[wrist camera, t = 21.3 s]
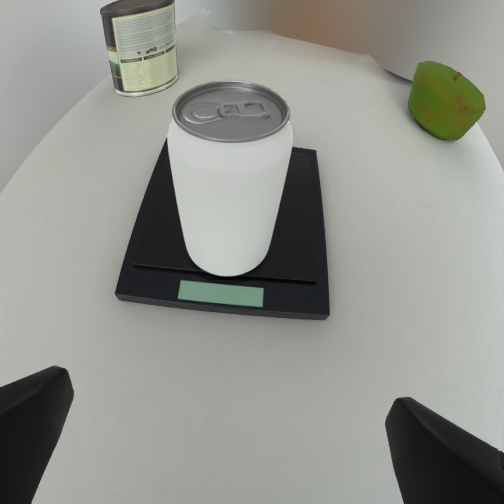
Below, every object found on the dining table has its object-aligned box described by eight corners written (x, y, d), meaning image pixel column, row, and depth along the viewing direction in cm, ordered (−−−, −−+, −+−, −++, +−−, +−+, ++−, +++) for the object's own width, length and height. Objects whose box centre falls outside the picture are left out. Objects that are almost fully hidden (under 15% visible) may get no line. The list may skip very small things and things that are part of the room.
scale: (325, 320, 22) (331, 313, 21) (119, 300, 22) (112, 292, 20) (313, 157, 32) (317, 147, 30) (167, 145, 31) (166, 134, 30)
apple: (405, 96, 44) (425, 45, 34) (462, 130, 41) (488, 83, 31) (392, 121, 38) (419, 59, 28) (461, 164, 35) (496, 107, 26)
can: (183, 212, 25) (165, 81, 14) (260, 204, 26) (280, 75, 15) (189, 284, 21) (160, 155, 11) (277, 273, 22) (318, 144, 12)
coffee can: (101, 93, 37) (84, 13, 25) (142, 65, 42) (134, -6, 30) (151, 101, 36) (140, 8, 24) (191, 71, 41) (190, -9, 29)
